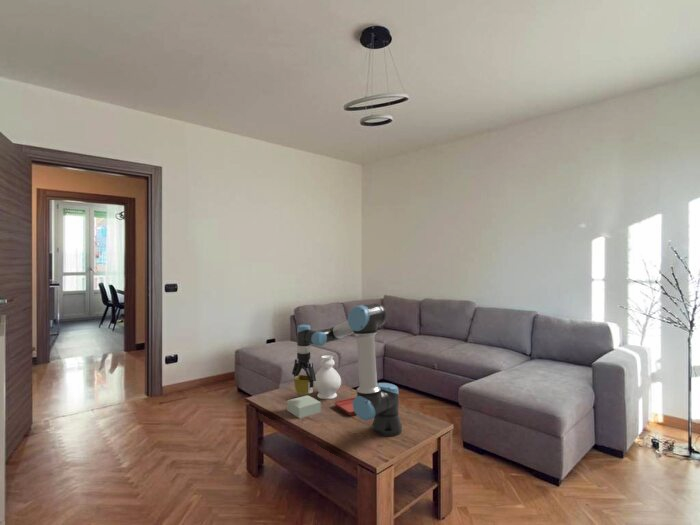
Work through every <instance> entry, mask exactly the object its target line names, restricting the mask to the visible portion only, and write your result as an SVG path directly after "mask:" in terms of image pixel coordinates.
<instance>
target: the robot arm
mask: <svg viewBox="0 0 700 525" xmlns="http://www.w3.org/2000/svg"><path fill="white" fill-rule="evenodd" d="M387 319H388V312H387V309H386V307H385V306H383V305H382V304H379V303H370V304H359V305H357V306H354V307H352V308H351V310H350V311H349V312H348V315H347V320H345V321H344V322H342V323H339V324H336V325H334V326H333V327H330V328H324V329H320V330H313V329H311V325H309V324H300V325H298V326H297V328H296V329H297V330H296V331H297V332H296V334H297V337H296V341H297V342H296V347H297V348H296V352H297V353H296V359H294V365H293V367H292V372H291V374H292V376H294V379H295V378H296V377H297V376H298V375H300V373H301V371H302V369H303V371H305V375H307V376H308V379H309V382H308V394H312V393H313V392H314V384H313V381H316V377H315V375H316V373H315V370H314V363H313V362H310V359H311V345H314V346H317V347H318V346H319V347H322V346H324V345H325V344H327V343H330V342H331V343H332V342H337V341H339V340H341V339H342V338H344V337H346V336H349V335H355V337H356V346H357V362H358V380H359V382H358V383H359V386H358V387H357V388H356V396H355V398H354V397H353V398H354V400H353V409H354V411H355V413H356V414H355V415H356V416H357V417H358V418H359V419H361V420H363V421H369V420H373V421H372V424H371V426H372V427H371V430H372V432H373V433H374V434H376V435H379V436H382V437H394V436H398V435H400V434H401V433H402V431H403V425H402V423H401V419H400V416H399V399H400V398H399V397H400V396H399V395H400V393H399V387H398V386H397V385H395V384H393V383H389V382H378V376H377V375H378V374H377V359H376V358H377V357H376V340H375V336H376V334H377V333H378V327H381V326H383V325H384V324H385V323H386V321H387Z"/></svg>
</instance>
